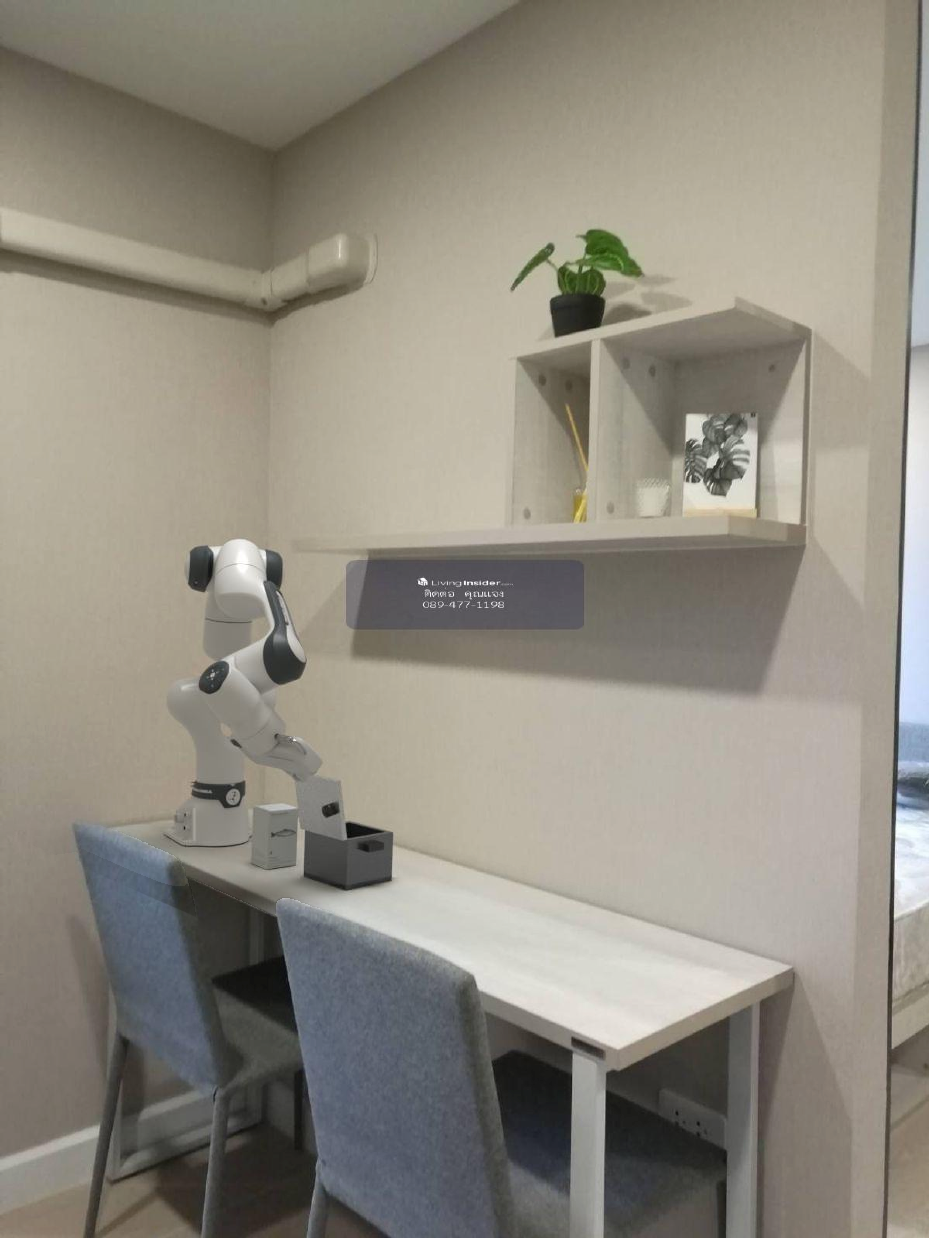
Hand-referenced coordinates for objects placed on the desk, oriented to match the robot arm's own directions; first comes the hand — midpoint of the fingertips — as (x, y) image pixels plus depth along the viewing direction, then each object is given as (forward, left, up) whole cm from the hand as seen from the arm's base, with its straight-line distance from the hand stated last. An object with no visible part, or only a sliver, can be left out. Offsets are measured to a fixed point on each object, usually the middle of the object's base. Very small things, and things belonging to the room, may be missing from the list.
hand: (302, 778), depth 195 cm
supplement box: (-19, +7, -22) cm, 30 cm away
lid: (0, +5, -6) cm, 7 cm away
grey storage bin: (0, +12, -22) cm, 25 cm away
